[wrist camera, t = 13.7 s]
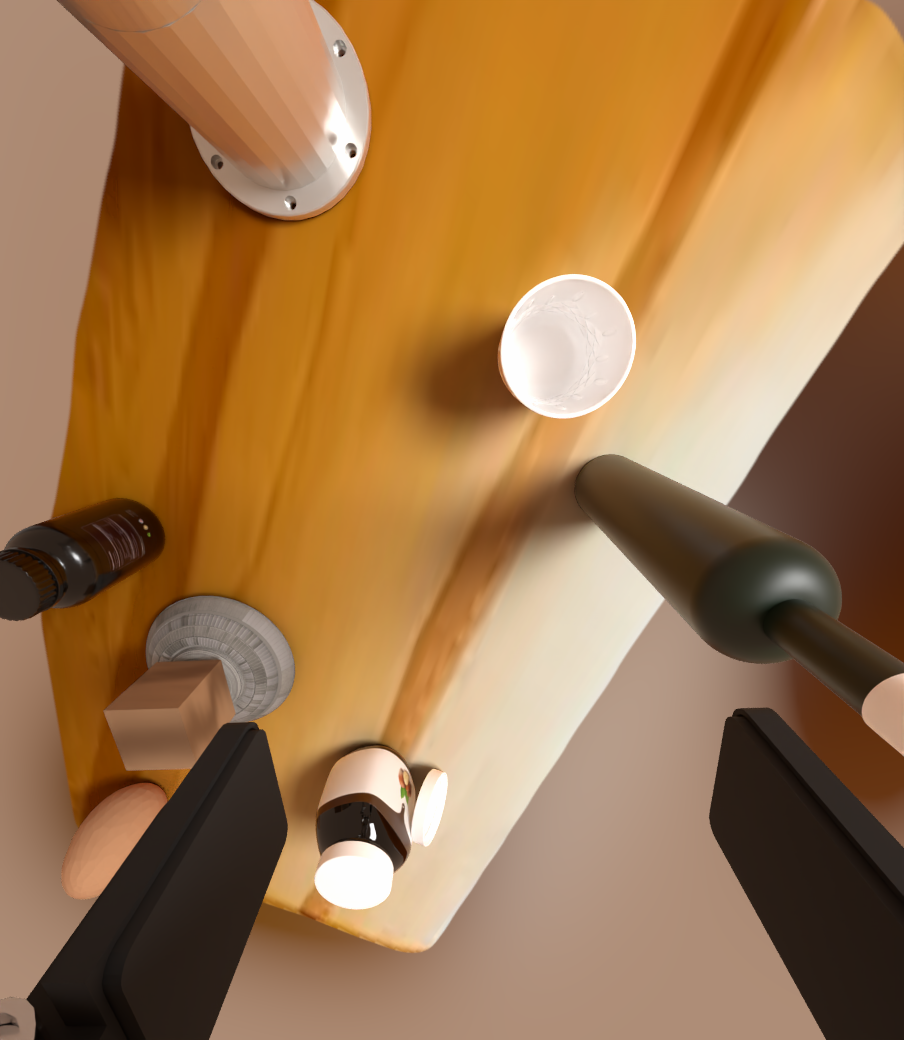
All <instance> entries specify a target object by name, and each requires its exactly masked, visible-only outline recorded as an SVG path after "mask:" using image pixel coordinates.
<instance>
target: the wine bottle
mask: <svg viewBox="0 0 904 1040" xmlns="http://www.w3.org/2000/svg"><path fill="white" fill-rule="evenodd" d="M575 497H576V500H577V502H578V504H579V506H580V507H581V508H582V510H583V511H584V512H585V513H586V514H587V515H588V516H589V517H590V518H591V519H592V520H593V521H594V522H595V524H596V525H597V526H598V527H599V528H600V529H601V530H602V531H603V532H604V533H605V534H606V535H607V537H608V538H609V539H610V540H611V541H612V542H613V543H614V544H615V545H616V546H617V547H618V548H619V550H620V551H621V552H622V553H623V554H624V555H625V556H626V557H627V558H628V559H629V560H630V561H631V563H632V564H633V565H634V566H635V567H636V568H637V569H638V570H639V571H640V572H641V573H642V574H643V576H644V577H645V578H646V579H647V580H648V581H649V582H650V583H651V584H652V585H653V586H654V587H655V589H656V590H657V591H658V592H659V593H660V594H661V595H662V596H663V597H664V598H665V599H666V600H667V601H668V602H669V604H670V605H671V606H672V607H673V608H674V609H675V610H676V611H677V612H678V613H679V614H680V616H681V617H682V618H683V619H684V620H685V621H686V622H687V623H688V624H689V625H690V626H691V627H692V629H693V630H694V631H695V632H696V633H697V634H698V635H699V636H700V637H701V638H702V639H703V640H704V641H705V642H706V643H707V644H708V645H709V646H711V647H712V648H713V649H715V650H716V651H718V652H720V653H722V654H724V655H726V656H728V657H730V658H733V659H736V660H739V661H743V662H748V663H756V664H770V663H778V662H783V661H787V660H791V659H795V660H796V661H797V662H798V663H799V664H801V665H802V666H803V667H804V668H805V669H807V670H808V671H809V672H810V673H812V675H814V676H815V677H816V678H817V679H819V680H820V681H821V682H822V683H823V684H824V685H826V686H827V687H828V688H829V689H830V690H832V691H833V692H834V693H835V694H836V695H838V696H839V697H840V698H841V699H842V700H843V701H845V702H846V703H847V704H848V705H849V706H851V707H852V708H853V709H854V710H855V711H856V712H858V713H859V714H860V715H861V716H862V717H863V719H864V721H865V723H866V724H867V725H868V726H869V727H870V728H871V729H873V730H874V731H875V732H876V733H877V734H878V735H880V736H881V737H882V738H883V739H884V740H885V741H887V742H888V743H889V744H890V745H891V746H893V747H894V748H895V749H896V750H897V751H898V752H900V753H901V754H902V755H903V756H904V663H902V662H901V661H899V660H898V659H896V658H895V657H893V656H892V655H890V654H889V653H887V652H885V651H884V650H882V649H881V648H879V647H878V646H876V645H875V644H873V643H871V642H870V641H868V640H866V639H865V638H864V637H862V636H860V635H859V634H857V633H856V632H854V631H853V630H851V629H850V628H848V627H846V626H845V625H843V624H842V623H840V622H839V621H837V619H838V617H839V614H840V610H841V604H842V593H841V587H840V583H839V580H838V577H837V575H836V573H835V571H834V569H833V568H832V566H831V565H830V564H829V562H828V561H827V560H826V559H825V558H824V557H823V556H822V555H821V554H820V553H819V552H818V551H817V550H815V549H814V548H812V547H811V546H809V545H808V544H806V543H804V542H802V541H800V540H798V539H796V538H794V537H792V536H790V535H787V534H785V533H783V532H781V531H779V530H777V529H775V528H773V527H771V526H768V525H766V524H764V523H762V522H760V521H758V520H756V519H754V518H752V517H750V516H747V515H745V514H743V513H741V512H739V511H737V510H735V509H733V508H731V507H728V506H726V505H724V504H722V503H720V502H718V501H716V500H714V499H712V498H709V497H707V496H705V495H703V494H701V493H699V492H697V491H695V490H693V489H690V488H688V487H686V486H684V485H682V484H680V483H678V482H676V481H674V480H671V479H669V478H667V477H665V476H663V475H661V474H659V473H657V472H655V471H652V470H650V469H648V468H646V467H644V466H642V465H640V464H638V463H636V462H633V461H631V460H629V459H627V458H625V457H623V456H619V455H603V456H600V457H597V458H595V459H593V460H592V461H590V462H589V463H587V464H586V465H585V466H584V467H583V468H582V470H581V471H580V473H579V475H578V477H577V479H576V483H575Z"/></svg>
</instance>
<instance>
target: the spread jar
mask: <svg viewBox="0 0 904 1040" xmlns="http://www.w3.org/2000/svg"><path fill="white" fill-rule="evenodd" d="M446 792H447V775H446V773H445V772H442V771H439V770H436V769H432V770H431V771H430V772H429V773H428V775H427V776H426V778H425V780H424V782H423V784H422V787H421V789H420V792H419V795H418V798H417V802H416V796H415V788H414V783H413V778H412V775H411V771H410V769H409V766H408V764H407V762H406V761H405V759H404V758H403V757H402V756H401V755H400V754H399V753H398V752H396V751H395V750H393V749H391V748H389V747H385V746H378V745H375V746H366V747H362V748H359V749H356V750H354V751H352V752H350V753H348V754H346V755H345V756H343V757H342V758H341V759H339V760H338V761H337V762H336V763H335V765H334V766H333V767H332V769H331V771H330V774H329V776H328V779H327V781H326V784H325V787H324V790H323V793H322V796H321V799H320V802H319V805H318V810H317V814H316V825H315V826H316V838H317V843H318V849H319V852H320V856H321V857H320V860H319V863H318V866H317V870H316V873H315V878H314V880H315V885H316V888H317V890H318V892H319V893H320V894H321V895H322V896H323V897H324V898H325V899H326V900H327V901H329V902H331V903H333V904H335V905H337V906H340V907H343V908H348V909H366V908H371V907H374V906H376V905H378V904H380V903H381V902H383V901H384V900H385V899H386V898H387V897H388V895H389V894H390V890H391V886H392V879H393V874H394V873H395V872H396V871H398V870H399V869H400V868H401V867H402V866H403V865H404V863H405V862H406V860H407V858H408V856H409V853H410V850H411V845H412V840H413V842H415V843H417V844H420V845H423V846H425V847H427V846H428V845H429V844H430V843H431V841H432V840H433V838H434V835H435V833H436V831H437V828H438V825H439V822H440V819H441V816H442V812H443V808H444V804H445V799H446Z"/></svg>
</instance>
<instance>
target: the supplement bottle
mask: <svg viewBox="0 0 904 1040" xmlns="http://www.w3.org/2000/svg"><path fill="white" fill-rule="evenodd" d="M164 544H165V534H164V530H163V527H162V524H161V522H160V521H159V519H158V518H157V516H156V515H155V514H154V513H153V512H152V511H151V510H150V509H148V508H147V507H145V506H144V505H142V504H140V503H138V502H136V501H133V500H129V499H123V498H116V499H110V500H106V501H103V502H100V503H97V504H94V505H91V506H88V507H85V508H82V509H79V510H76V511H73V512H71V513H68V514H65V515H62V516H59V517H56V518H53V519H50V520H47V521H44V522H42V523H39V524H36V525H33V526H30V527H28V528H25V529H23V530H21V531H19V532H18V533H16V534H15V535H14V536H13V537H12V538H11V539H10V540H9V542H8V543H7V545H6V547H5V549H4V550H3V551H0V618H2V619H7V620H15V621H18V620H25V619H28V618H31V617H33V616H35V615H37V614H39V613H40V612H43V611H46V610H48V609H50V608H70V607H75V606H78V605H81V604H83V603H85V602H87V601H89V600H91V599H92V598H94V597H96V596H97V595H99V594H101V593H102V592H104V591H106V590H107V589H109V588H111V587H112V586H114V585H116V584H117V583H119V582H121V581H122V580H124V579H126V578H127V577H129V576H131V575H132V574H134V573H136V572H137V571H139V570H141V569H142V568H144V567H146V566H147V565H149V564H150V563H152V562H153V561H155V560H156V559H157V558H158V557H159V556H160V554H161V553H162V551H163V548H164Z"/></svg>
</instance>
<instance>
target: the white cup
mask: <svg viewBox="0 0 904 1040" xmlns="http://www.w3.org/2000/svg"><path fill="white" fill-rule="evenodd" d="M635 346H636V335H635V327H634V322H633V319H632V316H631V313H630V311H629V309H628V307H627V305H626V303H625V302H624V300H623V299H622V298H621V296H620V295H619V294H618V293H617V292H616V291H615V290H614V289H613V288H612V287H610V286H609V285H607V284H606V283H604V282H602V281H601V280H598V279H596V278H593V277H590V276H586V275H578V274H569V275H562V276H557V277H554V278H551V279H548V280H546V281H544V282H542V283H540V284H538V285H537V286H535V287H534V288H533V289H531V290H530V291H529V292H528V293H526V294H525V295H524V296H523V297H522V298H521V300H520V301H519V302H518V303H517V305H516V306H515V307H514V309H513V310H512V312H511V314H510V316H509V318H508V320H507V322H506V325H505V327H504V330H503V333H502V336H501V339H500V343H499V348H498V367H499V372H500V375H501V378H502V380H503V382H504V384H505V386H506V387H507V388H508V390H509V391H510V392H511V394H512V395H513V396H514V397H515V398H516V399H517V400H519V401H520V402H521V403H522V404H524V405H525V406H526V407H527V408H529V409H530V410H532V411H534V412H536V413H538V414H541V415H544V416H547V417H552V418H573V417H578V416H581V415H585V414H587V413H589V412H592V411H594V410H595V409H597V408H599V407H600V406H602V405H603V404H605V403H606V402H607V401H608V400H609V399H610V398H611V397H612V396H613V395H614V394H615V393H616V392H617V391H618V390H619V388H620V387H621V386H622V384H623V382H624V381H625V379H626V377H627V375H628V373H629V371H630V368H631V366H632V362H633V359H634V354H635Z"/></svg>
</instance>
